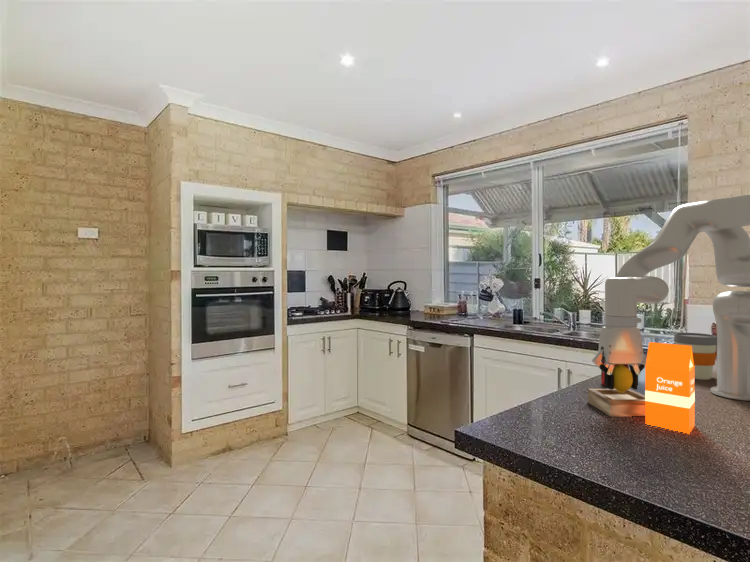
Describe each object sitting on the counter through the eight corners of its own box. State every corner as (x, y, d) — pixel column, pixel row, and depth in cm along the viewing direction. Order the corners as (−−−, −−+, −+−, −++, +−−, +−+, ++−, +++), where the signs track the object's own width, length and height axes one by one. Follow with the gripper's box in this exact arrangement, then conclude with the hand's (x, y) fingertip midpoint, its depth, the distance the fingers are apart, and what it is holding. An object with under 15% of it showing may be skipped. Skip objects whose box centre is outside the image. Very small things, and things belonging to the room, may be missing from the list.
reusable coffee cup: (697, 381, 142) (697, 338, 142) (665, 373, 154) (665, 333, 154) (727, 379, 145) (727, 336, 144) (692, 371, 157) (692, 332, 157)
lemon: (630, 391, 116) (629, 362, 115) (635, 396, 110) (635, 366, 110) (607, 389, 117) (607, 361, 117) (611, 394, 112) (611, 365, 112)
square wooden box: (630, 402, 120) (630, 388, 120) (657, 416, 108) (657, 401, 108) (587, 402, 120) (587, 388, 120) (610, 416, 108) (610, 401, 108)
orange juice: (652, 417, 107) (652, 340, 107) (695, 425, 101) (695, 343, 101) (644, 425, 102) (644, 343, 101) (689, 434, 95) (689, 348, 95)
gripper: (644, 320, 117) (644, 384, 117) (582, 321, 118) (582, 384, 118) (661, 323, 110) (662, 391, 110) (595, 324, 110) (596, 392, 110)
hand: (621, 387), depth 114 cm, fingers closed on lemon, 5 cm apart
